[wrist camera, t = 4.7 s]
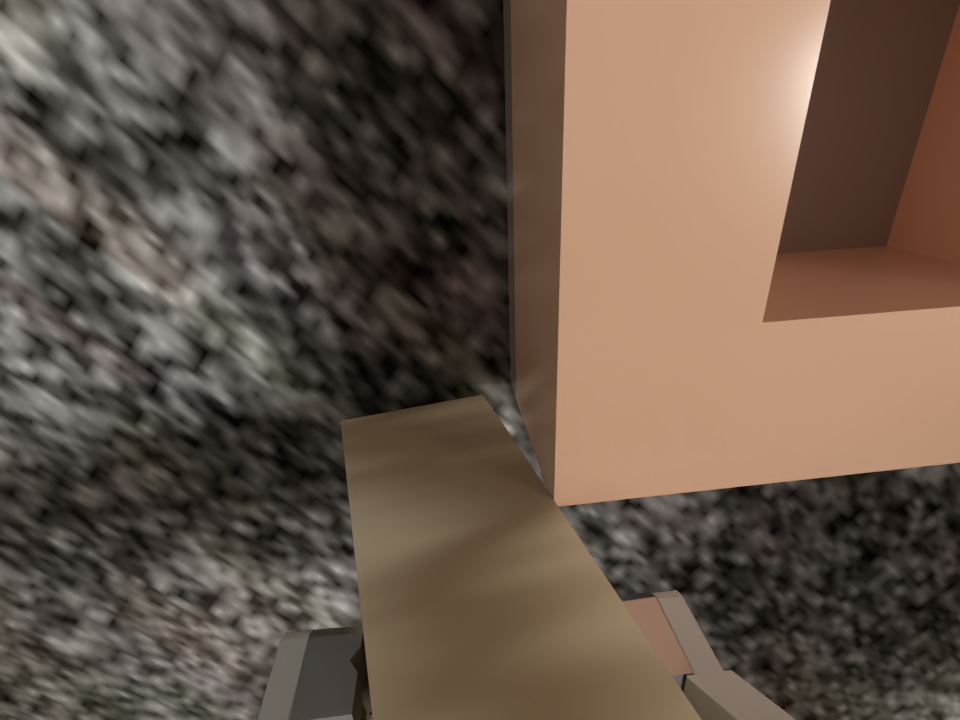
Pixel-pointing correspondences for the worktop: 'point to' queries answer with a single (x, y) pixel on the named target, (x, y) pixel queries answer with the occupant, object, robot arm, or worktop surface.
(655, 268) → the well block
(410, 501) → the peg
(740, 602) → the worktop surface
